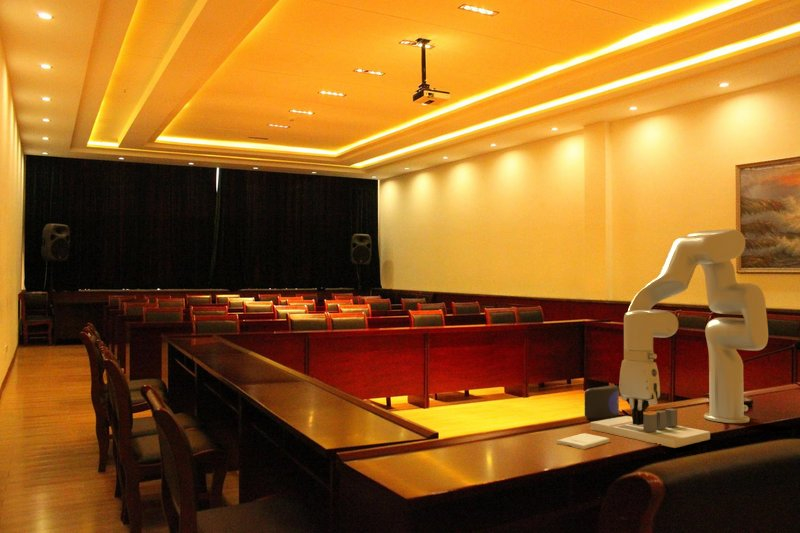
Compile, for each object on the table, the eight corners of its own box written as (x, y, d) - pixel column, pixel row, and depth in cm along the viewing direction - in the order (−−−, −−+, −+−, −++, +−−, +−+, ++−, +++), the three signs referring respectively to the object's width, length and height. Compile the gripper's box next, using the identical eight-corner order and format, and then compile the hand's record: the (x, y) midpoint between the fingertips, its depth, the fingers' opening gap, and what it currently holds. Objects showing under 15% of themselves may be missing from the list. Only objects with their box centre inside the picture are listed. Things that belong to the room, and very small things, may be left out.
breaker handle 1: (659, 426, 179) (659, 410, 179) (666, 428, 177) (666, 411, 178) (653, 428, 177) (653, 411, 177) (660, 429, 176) (659, 412, 176)
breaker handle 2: (670, 424, 182) (670, 408, 182) (677, 425, 181) (677, 409, 181) (664, 425, 180) (664, 409, 181) (671, 426, 179) (671, 410, 179)
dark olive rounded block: (595, 421, 196) (595, 390, 197) (583, 419, 200) (583, 388, 200) (626, 415, 206) (626, 386, 206) (614, 413, 210) (614, 384, 210)
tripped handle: (650, 429, 175) (649, 410, 175) (656, 430, 174) (656, 411, 174) (643, 430, 174) (643, 411, 174) (650, 432, 172) (650, 412, 172)
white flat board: (626, 422, 196) (626, 415, 196) (710, 439, 175) (710, 431, 175) (590, 429, 186) (590, 422, 186) (674, 447, 165) (674, 439, 165)
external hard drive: (609, 444, 171) (583, 451, 162) (582, 438, 177) (555, 445, 168) (609, 438, 171) (583, 445, 162) (582, 432, 177) (555, 439, 168)
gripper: (671, 358, 173) (671, 427, 172) (623, 353, 185) (623, 417, 185) (654, 359, 169) (655, 430, 168) (606, 354, 181) (607, 420, 180)
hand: (638, 423), depth 176 cm, fingers closed
